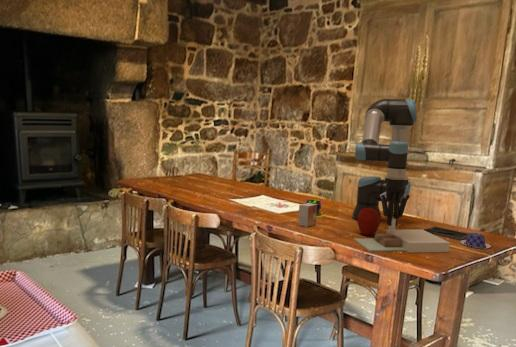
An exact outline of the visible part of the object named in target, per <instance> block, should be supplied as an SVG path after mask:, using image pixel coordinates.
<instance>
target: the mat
mask: <svg viewBox="0 0 516 347" xmlns="http://www.w3.org/2000/svg"><path fill="white" fill-rule="evenodd" d="M374 239H375V237H374V238H373V237H372V238H370V237H367V238H366V237H365V238H354V239H353V241H354V242H356V243H358V244H359V245H360V246H362V247H363V248H364V249H365V250H367V251H368V252H407V251H406V249H404V248H403V247H384V246H382V245H381V244H379V243H378V242H376V241H375V240H374Z"/></svg>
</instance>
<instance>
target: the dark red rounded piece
mask: <svg viewBox="0 0 516 347" xmlns="http://www.w3.org/2000/svg"><path fill="white" fill-rule="evenodd" d="M380 222H381V221H380V217H379V214H378V212H377V211H376V210H375V209H373V208H370V206H369V208H363V209H362V210H361V211H360V212H359V214H358V220H357V226H358V229H359V231H360V233H361V234H362V235H363V236H372V235H375V234H376V233H377V230H378V229H379V227H380Z"/></svg>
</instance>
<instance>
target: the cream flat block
mask: <svg viewBox="0 0 516 347" xmlns="http://www.w3.org/2000/svg"><path fill="white" fill-rule="evenodd" d="M388 230H389V229H385V234H391V233H389V232H388ZM391 235H393V236H395V237H397V238H398V239H400V240H401V247H403V248H404V249H406V251H405V252H407V253H449V252H450V246H451V242H449V241H448V240H445V239H443V238H442V237H440V236H437V235H433V234H431V233H429V232H427V231H425V230H424V229H395V234H391Z"/></svg>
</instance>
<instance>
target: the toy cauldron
mask: <svg viewBox="0 0 516 347" xmlns="http://www.w3.org/2000/svg"><path fill="white" fill-rule="evenodd" d="M316 197H317V198H319V197H318V196H316ZM306 198H307V200H304V201H303V204H306V203H312V204H317V215H316V219H319V217H321V218H323V217H322V214H321V213H322V212H321V213H320V211H321V209H322V205H323V204H324V202H323V201H320V200H319V199H320V198H319V199H315V200H314V199H313V198H312V199H309V197H306ZM317 217H318V218H317Z"/></svg>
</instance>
